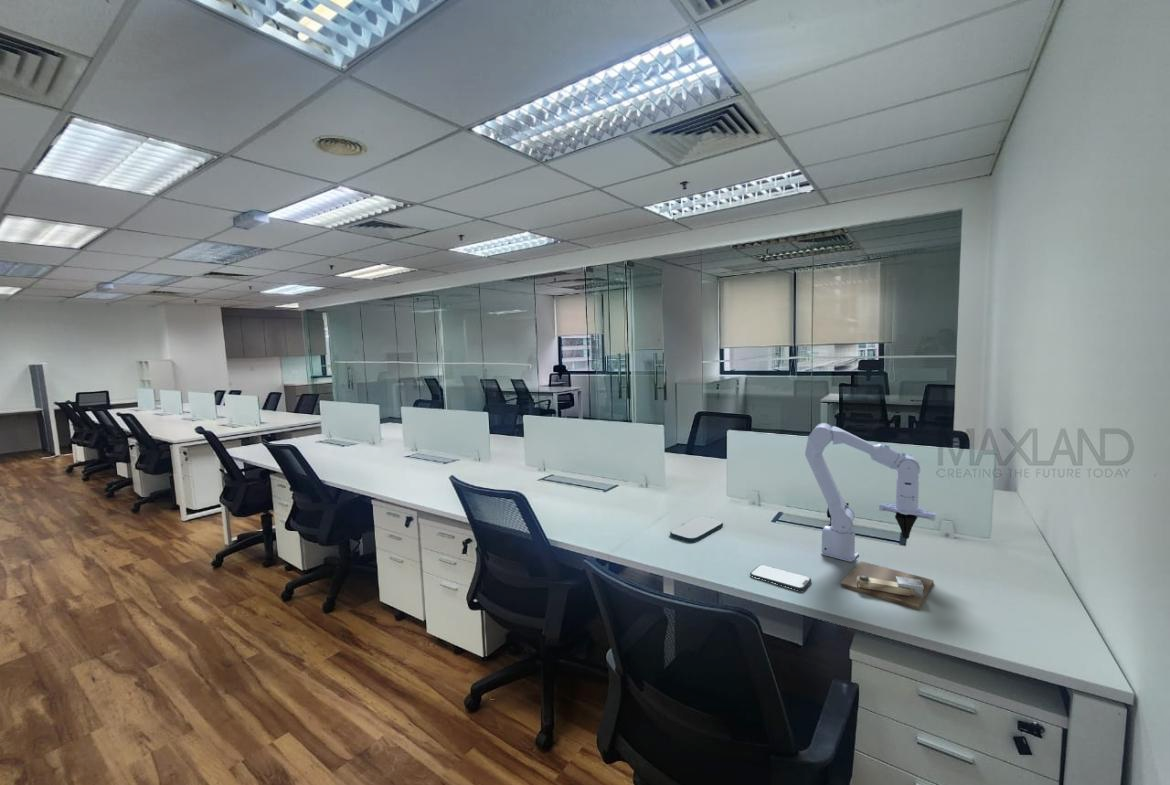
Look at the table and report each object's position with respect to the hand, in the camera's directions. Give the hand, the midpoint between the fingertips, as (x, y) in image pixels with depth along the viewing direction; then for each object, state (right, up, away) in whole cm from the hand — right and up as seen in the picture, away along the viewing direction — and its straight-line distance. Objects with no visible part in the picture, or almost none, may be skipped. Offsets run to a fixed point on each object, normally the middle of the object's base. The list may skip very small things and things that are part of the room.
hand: (905, 537), depth 151 cm
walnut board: (-12, -11, -10) cm, 19 cm away
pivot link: (-16, -10, -15) cm, 24 cm away
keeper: (-10, -10, -17) cm, 23 cm away
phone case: (-41, -12, -4) cm, 43 cm away
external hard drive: (-57, -9, +36) cm, 68 cm away
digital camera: (-1, -6, +39) cm, 40 cm away
